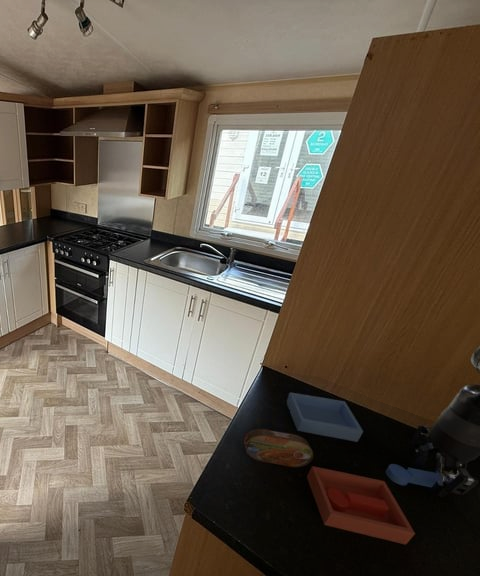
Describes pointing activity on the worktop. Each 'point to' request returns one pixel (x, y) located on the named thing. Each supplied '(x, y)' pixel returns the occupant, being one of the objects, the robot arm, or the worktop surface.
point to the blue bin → (323, 417)
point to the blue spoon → (411, 476)
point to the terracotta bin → (355, 521)
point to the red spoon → (356, 502)
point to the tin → (278, 448)
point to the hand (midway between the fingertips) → (424, 479)
